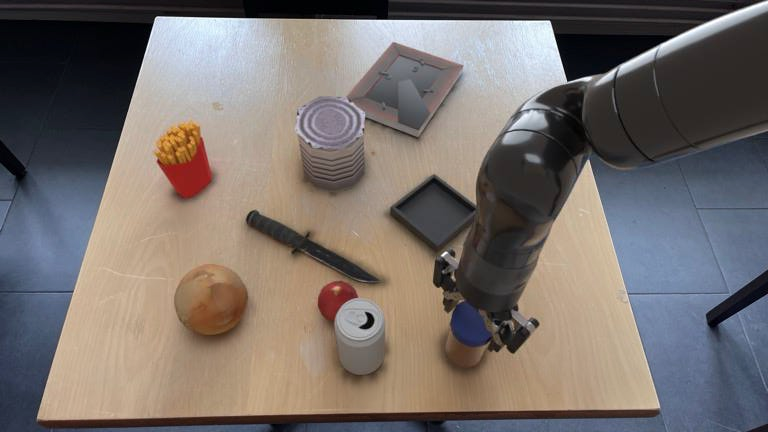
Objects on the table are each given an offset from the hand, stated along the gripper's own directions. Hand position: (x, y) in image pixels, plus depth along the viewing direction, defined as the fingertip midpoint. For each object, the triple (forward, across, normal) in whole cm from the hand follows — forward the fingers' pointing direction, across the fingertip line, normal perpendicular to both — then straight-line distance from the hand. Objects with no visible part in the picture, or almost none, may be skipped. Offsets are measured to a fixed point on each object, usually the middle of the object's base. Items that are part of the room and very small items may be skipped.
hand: (471, 326), depth 68 cm
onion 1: (+8, +28, +22) cm, 37 cm away
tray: (+8, +19, -14) cm, 25 cm away
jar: (+8, 0, 0) cm, 8 cm away
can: (+8, +38, -9) cm, 40 cm away
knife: (+8, +27, +5) cm, 29 cm away
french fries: (+8, +52, +11) cm, 54 cm away
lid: (-2, 0, 0) cm, 2 cm away
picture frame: (+8, +44, -33) cm, 56 cm away
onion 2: (+8, +16, +9) cm, 20 cm away
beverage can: (+8, +9, +11) cm, 16 cm away
